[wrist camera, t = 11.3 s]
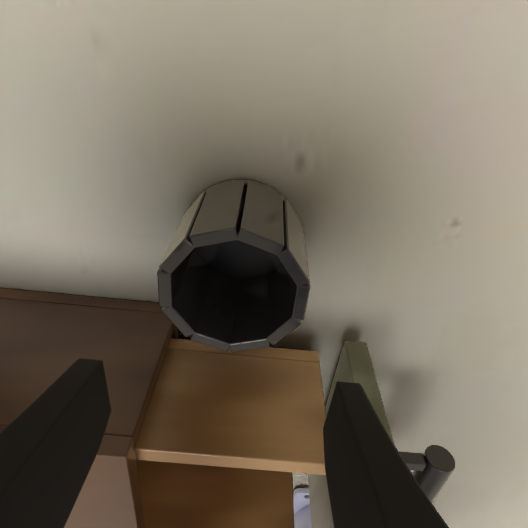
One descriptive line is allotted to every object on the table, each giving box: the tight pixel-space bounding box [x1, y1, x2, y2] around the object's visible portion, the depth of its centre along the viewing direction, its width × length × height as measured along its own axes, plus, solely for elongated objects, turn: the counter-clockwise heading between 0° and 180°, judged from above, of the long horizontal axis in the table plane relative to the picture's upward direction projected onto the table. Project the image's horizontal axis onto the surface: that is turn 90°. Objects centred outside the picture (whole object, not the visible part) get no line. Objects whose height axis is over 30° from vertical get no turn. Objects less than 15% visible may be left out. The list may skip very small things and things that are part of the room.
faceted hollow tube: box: [157, 179, 310, 352], centre depth 16 cm, size 6×6×5 cm
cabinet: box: [0, 288, 179, 528], centre depth 21 cm, size 15×14×9 cm
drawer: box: [134, 338, 455, 528], centre depth 21 cm, size 18×12×7 cm
